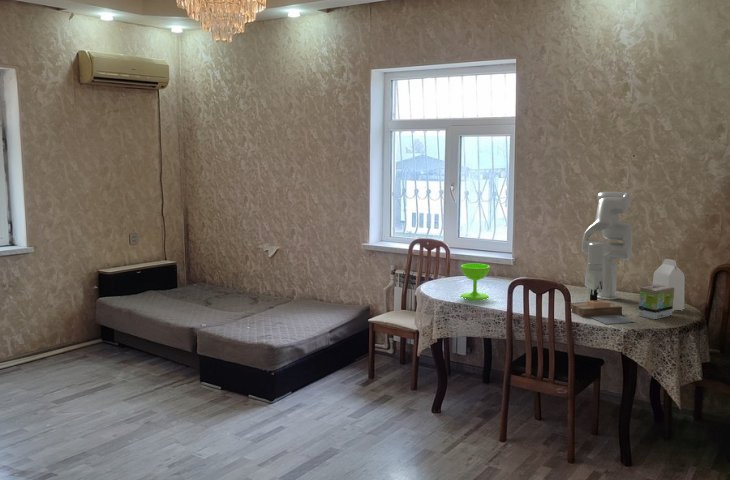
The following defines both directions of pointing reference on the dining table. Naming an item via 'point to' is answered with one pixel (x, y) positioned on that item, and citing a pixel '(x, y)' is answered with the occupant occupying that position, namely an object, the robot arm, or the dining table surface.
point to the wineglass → (475, 279)
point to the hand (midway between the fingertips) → (593, 302)
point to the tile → (598, 303)
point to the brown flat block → (595, 310)
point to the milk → (671, 281)
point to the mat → (611, 319)
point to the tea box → (656, 301)
